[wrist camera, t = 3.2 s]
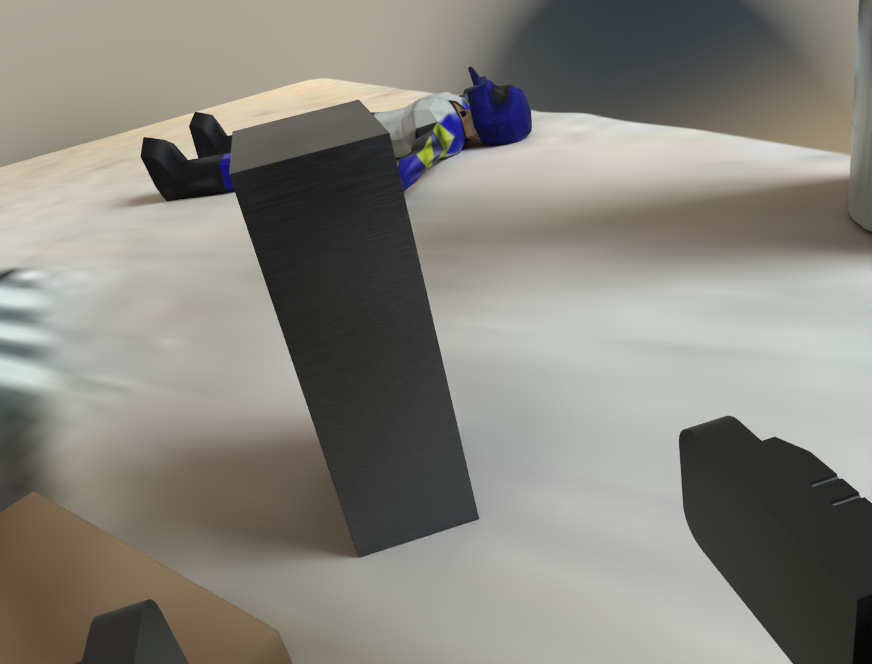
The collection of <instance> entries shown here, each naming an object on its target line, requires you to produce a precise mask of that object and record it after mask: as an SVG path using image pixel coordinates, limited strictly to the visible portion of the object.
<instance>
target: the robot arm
mask: <svg viewBox="0 0 872 664" xmlns="http://www.w3.org/2000/svg"><path fill="white" fill-rule="evenodd" d="M853 109H854V110H853V121H852V141H851V142H852V143H851V163H850V185H849V212H848V213H849V214H850V216H851V217H852V219H853V220H854V221H855V222H856V223H858V224H859V225H860V226H862V227H863V228H865V229H867V230H869V231H871V232H872V0H859V12H858V33H857V50H856V70H855V90H854V108H853ZM679 449H680V464H681V479H682V494H683V507H684V513H685V517H686V520H687V523H688V526H689V528H690V531H691V533H692V535H693V537H694V539H695V540H696V542H697V544H698V545H699V547H700V548H701V549H702V551H703V552H704V553H705V554H706V556H707V557H708V558H709V559H710V561H711V562H712V563H713V564H714V566H715V567H716V568H717V569H718V571H719V572H720V573H721V574H722V576H723V577H724V578H725V579H726V581H727V582H728V583H729V584H730V586H731V587H732V588H733V589H734V591H735V592H736V593H737V594H738V596H739V597H740V598H741V599H742V601H743V602H744V603H745V604H746V606H747V607H748V608H749V609H750V611H751V612H752V613H753V614H754V616H755V617H756V618H757V619H758V621H759V622H760V623H761V624H762V626H763V627H764V628H765V629H766V631H767V632H768V633H769V634H770V636H771V637H772V638H773V639H774V641H775V642H776V643H777V644H778V646H779V647H780V648H781V649H782V651H783V652H784V653H785V654H786V656H787V657H788V658H789V659H790V661H791V662H792V663H793V664H872V503H871V502H870V501H868V500H867V499H866V498H865V497H864V498H861V497H860V495H859V492H858V491H856V490H855V489H854V488H853V487H852V486H850V485H849V484H848V483H847V482H846V481H844V480H843V479H839V478H838V477H837V474H836V473H835V472H834V471H833V470H831V469H830V468H829V467H828V466H827V465H825V464H824V463H823V462H822V461H821V460H819V459H818V458H817V457H816V456H815V455H813V454H812V453H811V452H809V451H807V450H805V449H802V448H800V447H798V446H795V445H793V444H791V443H788V442H786V441H784V440H781V439H779V438H777V437H773V438H770V439H767V440H764V441H761V440H760V439H759V438H758V437H756V436H755V435H754V434H753V433H752V432H751V431H750V430H749V429H748V428H746V427H745V426H744V425H743V424H742V423H741V422H740V421H739V420H737V419H736V418H734V417H732V416H725V417H722V418H719V419H715V420H712V421H709V422H706V423H703V424H700V425H697V426H694V427H690V428H687V429H684V430H682V432H681V433H680V436H679ZM74 664H189V663H188V661H187V659H186V657H185V656H184V654H183V652H182V650H181V648H180V646H179V644H178V642H177V640H176V638H175V637H174V635H173V633H172V631H171V629H170V627H169V625H168V623H167V621H166V619H165V618H164V616H163V614H162V612H161V610H160V608H159V607H158V605H157V604H156V602H154V601H153V600H151V599H148V600H144V601H141V602H138V603H135V604H132V605H129V606H126V607H123V608H119V609H116V610H113V611H110V612H107V613H104V614H101V615H98V616H96V617H95V618H94V619H93V621H92V623H91V625H90V629H89V633H88V637H87V642H86V646H85V650H84V654H83V658H82V661H80V662H77V663H74Z"/></svg>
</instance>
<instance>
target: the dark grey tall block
mask: <svg viewBox="0 0 872 664" xmlns="http://www.w3.org/2000/svg"><path fill="white" fill-rule="evenodd" d="M229 175H230V178H231V181H232V184H233V187H234V190H235V193H236V196H237V199H238V202H239V205H240V208H241V211H242V214H243V217H244V220H245V223H246V226H247V229H248V232H249V235H250V238H251V240H252V243H253V246H254V249H255V252H256V255H257V258H258V261H259V264H260V267H261V270H262V273H263V276H264V279H265V282H266V285H267V288H268V291H269V294H270V297H271V300H272V303H273V305H274V308H275V311H276V314H277V317H278V320H279V323H280V326H281V329H282V332H283V335H284V338H285V341H286V344H287V347H288V350H289V353H290V356H291V359H292V362H293V365H294V368H295V371H296V373H297V376H298V379H299V382H300V385H301V388H302V391H303V394H304V397H305V400H306V403H307V406H308V409H309V412H310V415H311V418H312V421H313V424H314V427H315V430H316V433H317V436H318V438H319V441H320V444H321V447H322V450H323V453H324V456H325V459H326V462H327V465H328V468H329V471H330V474H331V477H332V480H333V483H334V486H335V489H336V492H337V495H338V498H339V501H340V504H341V506H342V509H343V512H344V515H345V518H346V521H347V524H348V527H349V530H350V533H351V536H352V539H353V542H354V545H355V548H356V551H357V554H358V557H362V556H365V555H369V554H372V553H375V552H378V551H381V550H384V549H387V548H390V547H393V546H396V545H400V544H403V543H406V542H409V541H412V540H415V539H418V538H421V537H424V536H427V535H430V534H434V533H437V532H440V531H443V530H446V529H449V528H452V527H455V526H458V525H461V524H465V523H468V522H471V521H474V520H477V519H479V517H478V513H477V508H476V504H475V500H474V495H473V491H472V487H471V482H470V478H469V474H468V469H467V465H466V461H465V456H464V452H463V448H462V444H461V439H460V435H459V431H458V426H457V422H456V418H455V413H454V409H453V405H452V400H451V396H450V392H449V387H448V383H447V379H446V374H445V370H444V366H443V361H442V357H441V353H440V348H439V344H438V340H437V336H436V331H435V327H434V323H433V318H432V314H431V310H430V305H429V301H428V297H427V292H426V288H425V284H424V279H423V275H422V271H421V266H420V262H419V258H418V253H417V249H416V245H415V241H414V236H413V232H412V228H411V223H410V219H409V215H408V210H407V206H406V202H405V197H404V193H403V189H402V184H401V180H400V176H399V171H398V167H397V163H396V158H395V154H394V150H393V146H392V141H391V137H390V133H389V132H388V130H387V129H386V128H385V127H384V126H383V125H382V124H381V123H380V122H379V121H378V120H377V119H376V118H375V117H374V116H373V114H372V113H371V112H370V111H369V110H368V109H367V108H366V107H365V106H364V105H363V104H362V103H361V102H360V101H359V100H356V101H352V102H348V103H344V104H340V105H336V106H332V107H328V108H324V109H320V110H316V111H312V112H308V113H304V114H300V115H296V116H292V117H289V118H285V119H281V120H277V121H273V122H269V123H265V124H261V125H257V126H253V127H249V128H245V129H241V130H237V131H233V134H232V146H231V157H230V169H229Z"/></svg>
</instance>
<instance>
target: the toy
mask: <svg viewBox="0 0 872 664" xmlns="http://www.w3.org/2000/svg"><path fill="white" fill-rule="evenodd" d="M468 69H469V72H470V75H471V78H472V81H473V85H474V86H473V87H470V88H468V89H465V90H464V93H463V95H460V96H456V95H453V94H451V93H448V92H443V93H438V94H434V95H429V96H426V97H424V98H421V99H418V100H417V101H415V102H414V103H412V104H411V105H409V106H407V107H406V108H401V109H397V110H392V111H387V112H378V113H372V114H373V116H374V117H375V118H376V119H377V120H378V121H379V122H380V123H381V124H382V125H383V126H384V127H385V128H386V129H387V130H388V132H389V133H390V137H391V141H392V146H393V150H394V154H395V158H399V157H403V158H401V159H400V162H399V165H398V171H399V176H400V180H401V184H402V189H403V193H404V191H405V190H406V189H407V188H408V187H410V186H411V185H412V184H414V183H415V182H416V181H417V180H418V179H419V177H420V176H421V174H422V173H423V171H424V170H425V169H426V168H429V167H432V166H433V165H434V164H435V162H436V161H437V160H438V159H440V158H447V157H449V156H452V155H455V154H458V153H460V151H461V149H462V147H463V145H464V143H465V142H467V141H470V140H472V139H475V138H478V137H479V138H480V140H481V142H483V143H486V144H489V145H491V146H495V145H505V144H510V143H515V142H519V141H521V140H522V139H524V138H525V137H526V136H527V135H528V134H529V133H530V132H531V128H532V120H531V110H530V107H529V105H528V102H527V99H526V97H525V94H524V92H523V90H521V89H519V88H517V87H515V86H513V85H506V86H496V85H495V84H493V83H492V82H491V81H490V80H488V81H487V79H486V77H485V76H484V77H479V75H478V74H477V73H476V71H475V70H474V69H473V68H472V67H469V68H468ZM189 127H190V131H191V134H192V138H193V141H194V145H195V148H196V152H197V155H198V159H192V160H187V158H186V157H185V156H184V155H183V154H182V153H181V152H180V150H179V149H178V148H177V147H176V146H175V145H174V144H173V143H171V142H168V141H166V140H161V139H154V138H146V137H144V138H143V144H142V151H141V158H142V160H143V162H144V164H145V166H146V168H147V170H148V172H149V174H150V176H151V178H152V180H153V182H154V184H155V186H156V188H157V189H158V191H159V192H160V193H161V194H162V196H163V197H164V198H165V200H166V201H171V200H178V199H185V198H193V197H201V196H207V195H212V194H218V193H224V192H229V191H235V190H234V187H233V184H232V181H231V178H230V175H229V169H230V157H231V146H232V135H231V136H227V135H226V133H225V132H224V130H223V129H222V127H221V126H220V124H219V123H218V122H217V120H216V119H215V118H214V117H213V115H209V114H204V113H198V112H195V113H194V116H193V118H192V120H191V123H190V125H189Z"/></svg>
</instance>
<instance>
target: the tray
mask: <svg viewBox="0 0 872 664" xmlns="http://www.w3.org/2000/svg"><path fill="white" fill-rule="evenodd" d="M148 599H151V600H153V601H154V602H156V604H157V605H158V607H159V608H160V610H161V612H162V614H163V616H164V618H165V619H166V621H167V623H168V625H169V627H170V629H171V631H172V633H173V635H174V637H175V638H176V640H177V642H178V644H179V646H180V648H181V650H182V652H183V654H184V656H185V657H186V659H187V661H188V663H189V664H292V662H291V660H290V657H289V655H288V653H287V650H286V648H285V646H284V644H283V641H282V639H281V637H280V634H279V632H278V630H276V629H274V628H272V627H271V626H269V625H267V624H265V623H264V622H262V621H260V620H258V619H257V618H255V617H253V616H251V615H250V614H248V613H246V612H244V611H243V610H241V609H239V608H237V607H236V606H234V605H232V604H230V603H229V602H227V601H225V600H223V599H222V598H220V597H218V596H216V595H215V594H213V593H211V592H209V591H208V590H206V589H204V588H203V587H201V586H199V585H197V584H196V583H194V582H192V581H190V580H189V579H187V578H185V577H183V576H182V575H180V574H178V573H176V572H175V571H173V570H171V569H169V568H168V567H166V566H164V565H162V564H161V563H159V562H157V561H155V560H154V559H152V558H150V557H148V556H147V555H145V554H143V553H141V552H140V551H138V550H136V549H134V548H133V547H131V546H129V545H127V544H126V543H124V542H122V541H121V540H119V539H117V538H115V537H114V536H112V535H110V534H108V533H107V532H105V531H103V530H101V529H100V528H98V527H96V526H94V525H93V524H91V523H89V522H87V521H86V520H84V519H82V518H80V517H79V516H77V515H75V514H73V513H72V512H70V511H68V510H66V509H65V508H63V507H61V506H59V505H58V504H56V503H54V502H52V501H51V500H49V499H47V498H46V497H44V496H42V495H40V494H39V493H37V492H35V491H32V492H31V493H29V494H28V495H26V496H25V497H23V498H22V499H20V500H19V501H17V502H16V503H14V504H13V505H11V506H9V507H8V508H6V509H5V510H3V511H2V512H0V664H74V663H77V662H80V661H82V658H83V654H84V650H85V646H86V642H87V637H88V633H89V629H90V625H91V623H92V621H93V619H94V618H95V617H96V616H98V615H101V614H104V613H107V612H110V611H113V610H116V609H119V608H123V607H126V606H129V605H132V604H135V603H138V602H141V601H144V600H148Z"/></svg>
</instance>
